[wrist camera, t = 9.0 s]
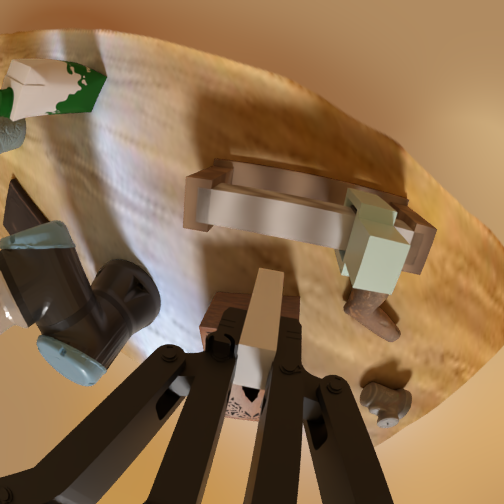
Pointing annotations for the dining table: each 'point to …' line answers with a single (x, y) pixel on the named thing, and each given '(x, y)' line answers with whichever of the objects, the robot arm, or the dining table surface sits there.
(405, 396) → the pipe fitting
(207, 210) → the rail
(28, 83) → the milk carton
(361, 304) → the pipe
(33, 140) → the dining table surface
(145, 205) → the dining table surface
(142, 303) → the robot arm
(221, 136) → the dining table surface
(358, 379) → the dining table surface
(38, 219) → the hardcover book
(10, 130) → the grey green cup
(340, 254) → the pale green slider block
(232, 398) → the tissue box cover
